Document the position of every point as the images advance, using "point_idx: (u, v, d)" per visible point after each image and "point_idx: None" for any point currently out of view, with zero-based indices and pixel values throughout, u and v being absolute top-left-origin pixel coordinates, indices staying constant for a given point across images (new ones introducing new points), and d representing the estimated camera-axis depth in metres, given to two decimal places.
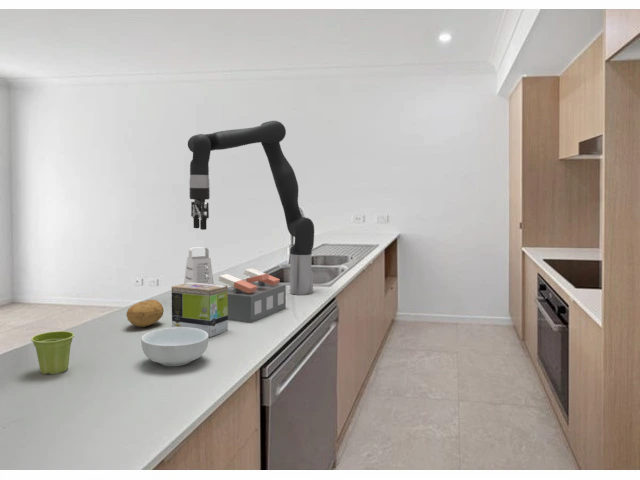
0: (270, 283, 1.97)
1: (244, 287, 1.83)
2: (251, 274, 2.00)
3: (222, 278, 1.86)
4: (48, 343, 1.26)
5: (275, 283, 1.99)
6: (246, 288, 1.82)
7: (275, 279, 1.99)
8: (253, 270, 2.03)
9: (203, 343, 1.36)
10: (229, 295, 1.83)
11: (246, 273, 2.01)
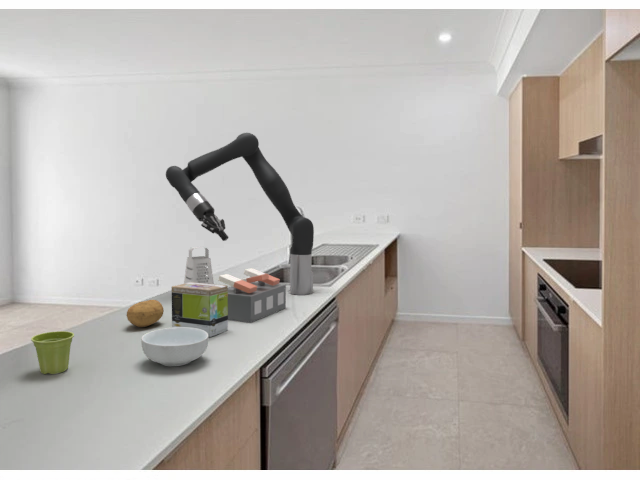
0: (270, 283, 1.97)
1: (244, 287, 1.83)
2: (251, 274, 2.00)
3: (222, 278, 1.86)
4: (48, 343, 1.26)
5: (275, 283, 1.99)
6: (246, 288, 1.82)
7: (275, 279, 1.99)
8: (253, 270, 2.03)
9: (203, 343, 1.36)
10: (229, 295, 1.83)
11: (246, 273, 2.01)
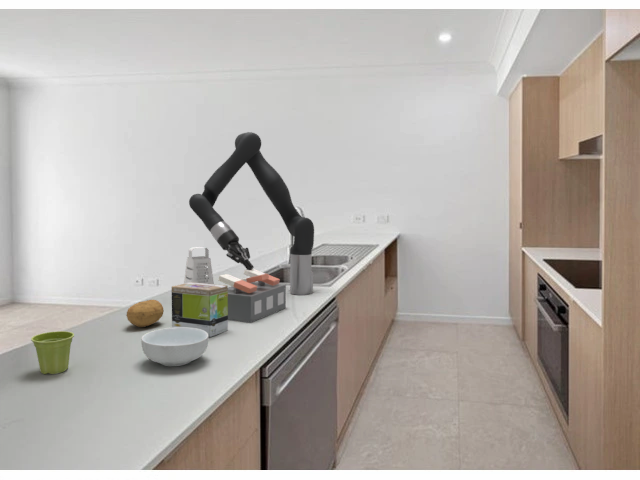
0: (270, 283, 1.97)
1: (244, 287, 1.83)
2: (251, 274, 2.00)
3: (222, 278, 1.86)
4: (48, 343, 1.26)
5: (275, 282, 1.99)
6: (246, 288, 1.82)
7: (275, 279, 1.99)
8: (253, 270, 2.03)
9: (203, 343, 1.36)
10: (229, 295, 1.83)
11: (246, 273, 2.01)
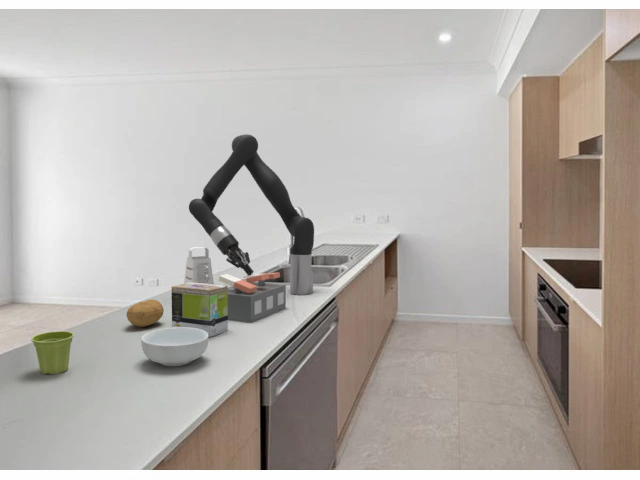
0: (271, 277, 1.97)
1: (244, 287, 1.83)
2: None
3: (222, 278, 1.86)
4: (48, 343, 1.26)
5: (276, 275, 1.98)
6: (246, 288, 1.82)
7: (274, 273, 1.99)
8: None
9: (203, 343, 1.36)
10: (229, 295, 1.83)
11: None
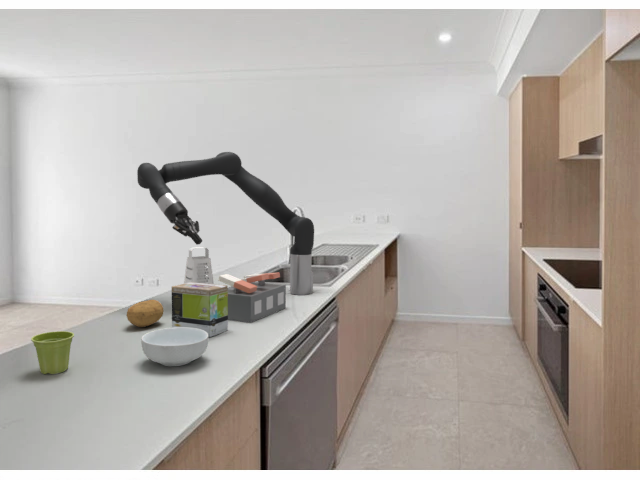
0: (271, 277, 1.97)
1: (244, 287, 1.83)
2: None
3: (222, 278, 1.86)
4: (48, 343, 1.26)
5: (276, 275, 1.98)
6: (246, 288, 1.82)
7: (274, 273, 1.99)
8: None
9: (203, 343, 1.36)
10: (229, 295, 1.83)
11: None
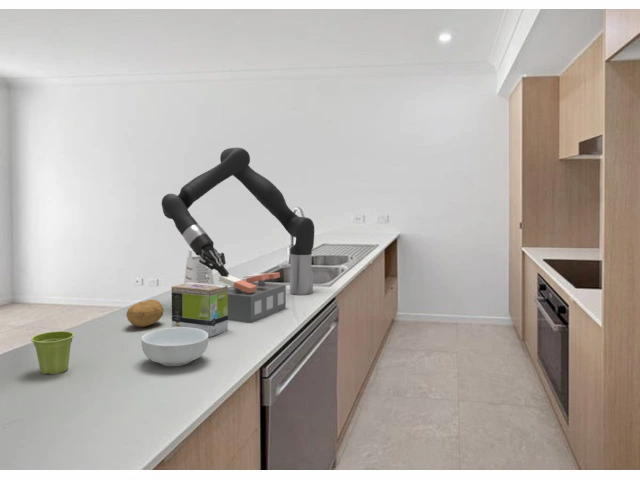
0: (271, 277, 1.97)
1: (244, 287, 1.83)
2: None
3: (222, 278, 1.86)
4: (48, 343, 1.26)
5: (276, 275, 1.98)
6: (246, 288, 1.82)
7: (274, 273, 1.99)
8: None
9: (203, 343, 1.36)
10: (229, 295, 1.83)
11: None
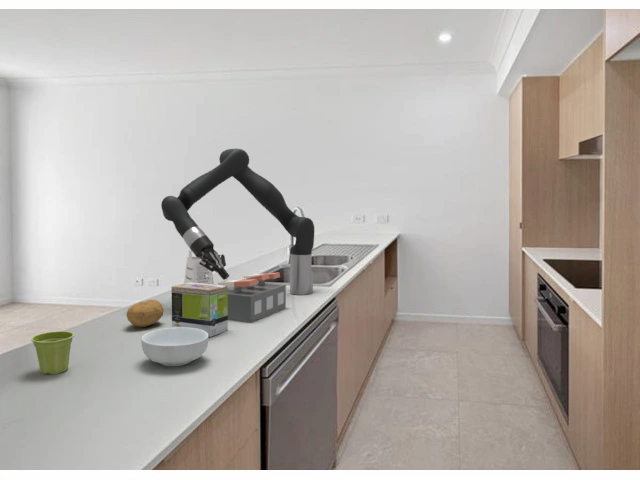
0: (271, 277, 1.97)
1: (244, 282, 1.82)
2: None
3: (221, 283, 1.86)
4: (48, 343, 1.26)
5: (276, 275, 1.98)
6: (246, 282, 1.82)
7: (274, 273, 1.99)
8: None
9: (203, 343, 1.36)
10: (229, 295, 1.83)
11: None
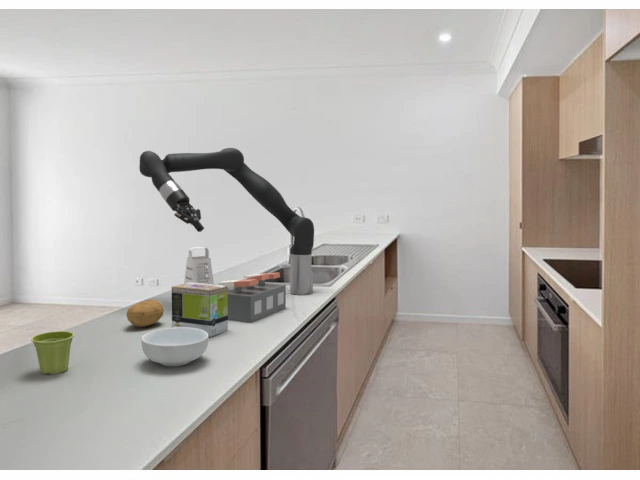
0: (271, 277, 1.97)
1: (244, 282, 1.82)
2: None
3: (221, 283, 1.86)
4: (48, 343, 1.26)
5: (276, 275, 1.98)
6: (246, 282, 1.82)
7: (274, 273, 1.99)
8: None
9: (203, 343, 1.36)
10: (229, 295, 1.83)
11: None
